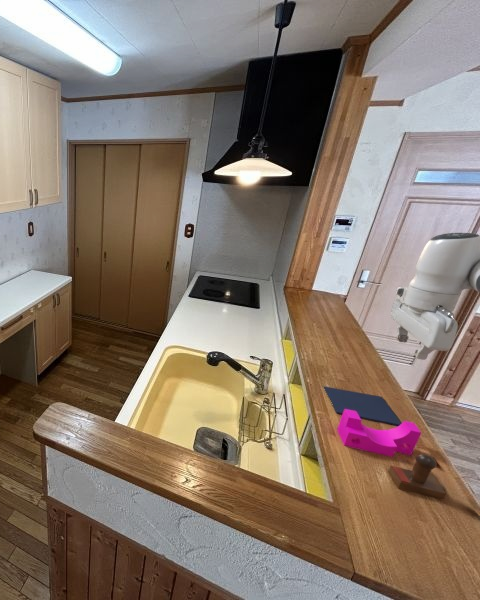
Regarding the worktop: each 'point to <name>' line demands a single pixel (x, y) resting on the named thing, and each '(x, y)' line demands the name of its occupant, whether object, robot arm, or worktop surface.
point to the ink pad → (362, 405)
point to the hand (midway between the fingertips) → (409, 349)
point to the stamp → (418, 478)
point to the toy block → (377, 436)
